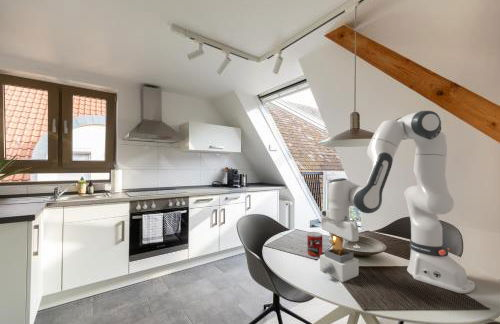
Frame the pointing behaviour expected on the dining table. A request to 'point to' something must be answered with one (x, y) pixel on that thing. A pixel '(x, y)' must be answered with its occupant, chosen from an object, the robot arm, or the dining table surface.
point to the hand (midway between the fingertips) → (338, 245)
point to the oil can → (337, 245)
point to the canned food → (314, 243)
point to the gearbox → (339, 265)
